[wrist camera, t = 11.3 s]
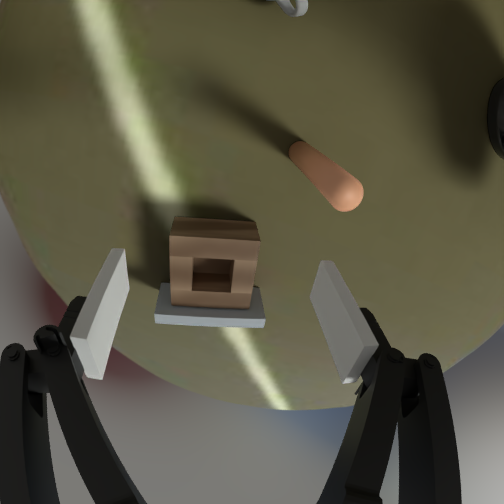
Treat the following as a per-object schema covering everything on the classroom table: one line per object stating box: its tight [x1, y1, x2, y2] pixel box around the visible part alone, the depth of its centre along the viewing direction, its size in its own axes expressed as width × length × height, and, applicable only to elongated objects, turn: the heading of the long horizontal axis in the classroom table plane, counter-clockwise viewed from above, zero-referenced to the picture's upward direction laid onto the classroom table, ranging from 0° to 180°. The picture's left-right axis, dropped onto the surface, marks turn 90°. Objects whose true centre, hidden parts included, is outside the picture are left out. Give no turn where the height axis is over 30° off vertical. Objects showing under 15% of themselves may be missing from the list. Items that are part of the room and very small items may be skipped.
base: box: [155, 283, 266, 328], centre depth 39 cm, size 2×14×6 cm, turn 82°
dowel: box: [289, 141, 363, 212], centre depth 27 cm, size 3×3×14 cm
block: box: [169, 217, 261, 309], centre depth 37 cm, size 10×10×5 cm
